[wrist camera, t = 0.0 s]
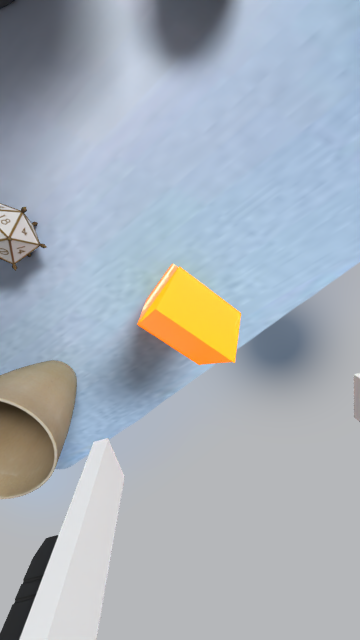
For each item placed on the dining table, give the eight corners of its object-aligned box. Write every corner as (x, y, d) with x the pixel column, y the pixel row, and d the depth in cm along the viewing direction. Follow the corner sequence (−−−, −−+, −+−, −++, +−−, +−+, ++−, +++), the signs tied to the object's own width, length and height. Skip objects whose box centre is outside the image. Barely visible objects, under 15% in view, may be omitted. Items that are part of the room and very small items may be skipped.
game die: (49, 237, 37) (66, 248, 30) (6, 269, 35) (13, 288, 28) (-2, 182, 31) (5, 180, 24) (-58, 218, 29) (-68, 227, 22)
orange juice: (186, 327, 39) (209, 394, 20) (145, 299, 37) (127, 344, 18) (213, 293, 38) (264, 329, 19) (172, 262, 36) (183, 267, 17)
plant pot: (66, 326, 38) (1, 373, 22) (111, 391, 42) (82, 469, 26) (-7, 363, 38) (-119, 432, 23) (44, 423, 43) (-22, 516, 27)
